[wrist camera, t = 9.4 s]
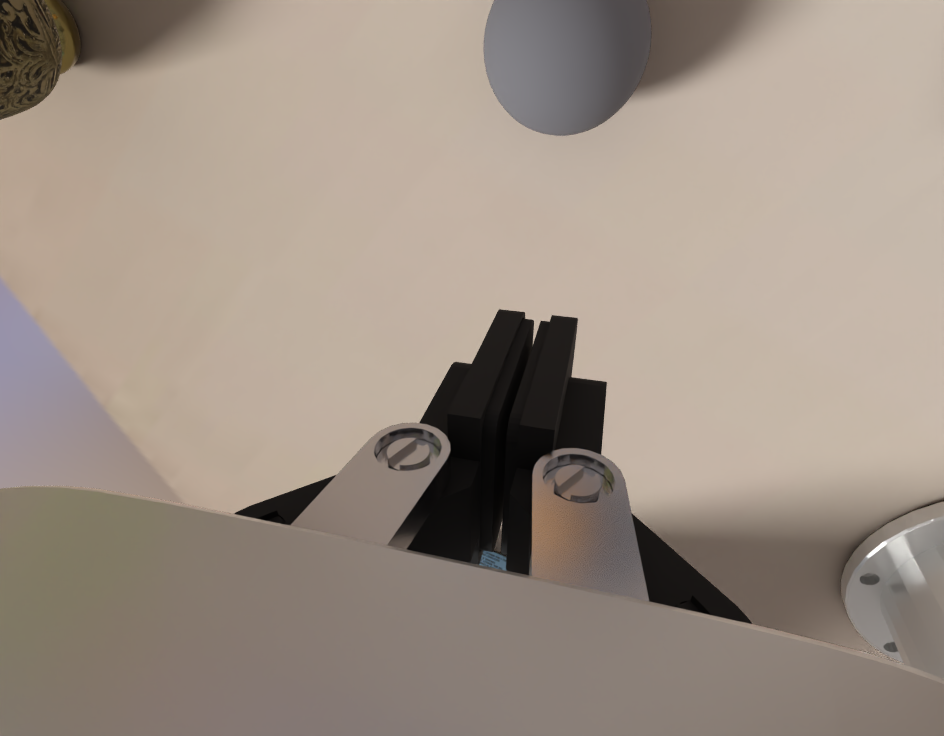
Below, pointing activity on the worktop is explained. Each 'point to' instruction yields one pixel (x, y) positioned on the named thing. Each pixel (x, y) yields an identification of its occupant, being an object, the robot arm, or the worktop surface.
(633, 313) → the worktop surface
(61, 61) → the cup
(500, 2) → the grey sphere
